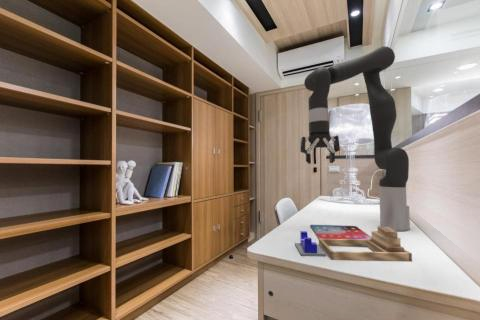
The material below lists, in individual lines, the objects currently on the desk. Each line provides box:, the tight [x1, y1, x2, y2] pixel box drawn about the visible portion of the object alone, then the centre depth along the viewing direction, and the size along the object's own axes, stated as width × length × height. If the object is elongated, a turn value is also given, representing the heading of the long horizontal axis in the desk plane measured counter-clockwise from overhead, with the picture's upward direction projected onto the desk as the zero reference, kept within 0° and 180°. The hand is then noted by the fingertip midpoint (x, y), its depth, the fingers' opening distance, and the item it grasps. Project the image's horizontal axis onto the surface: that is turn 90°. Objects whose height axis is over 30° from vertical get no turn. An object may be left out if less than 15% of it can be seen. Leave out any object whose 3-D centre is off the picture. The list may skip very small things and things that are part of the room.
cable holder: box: [299, 230, 318, 253], centre depth 69 cm, size 8×4×4 cm, turn 173°
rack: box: [318, 239, 413, 262], centre depth 67 cm, size 21×12×2 cm, turn 87°
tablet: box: [309, 224, 371, 248], centre depth 83 cm, size 19×25×1 cm
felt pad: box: [294, 242, 327, 257], centre depth 68 cm, size 7×9×1 cm
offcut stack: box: [370, 226, 405, 252], centre depth 66 cm, size 5×9×6 cm, turn 177°
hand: (320, 163), depth 85 cm, fingers open, 8 cm apart
